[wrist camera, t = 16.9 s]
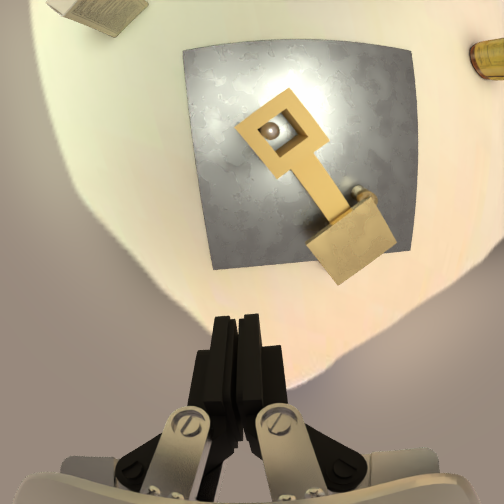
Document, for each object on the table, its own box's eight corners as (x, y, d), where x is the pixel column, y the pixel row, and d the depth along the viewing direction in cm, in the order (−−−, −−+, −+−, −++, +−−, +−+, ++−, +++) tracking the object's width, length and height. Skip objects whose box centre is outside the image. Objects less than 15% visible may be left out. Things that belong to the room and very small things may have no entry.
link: (236, 126, 30) (234, 127, 24) (282, 93, 28) (289, 87, 23) (327, 242, 36) (340, 264, 31) (366, 214, 34) (386, 231, 29)
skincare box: (130, -9, 21) (88, -45, 10) (150, 5, 23) (110, -34, 12) (96, 26, 23) (43, 2, 12) (114, 40, 24) (61, 17, 13)
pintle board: (183, 51, 26) (170, 39, 21) (409, 51, 25) (432, 44, 20) (215, 276, 39) (210, 300, 34) (407, 256, 38) (425, 276, 33)
